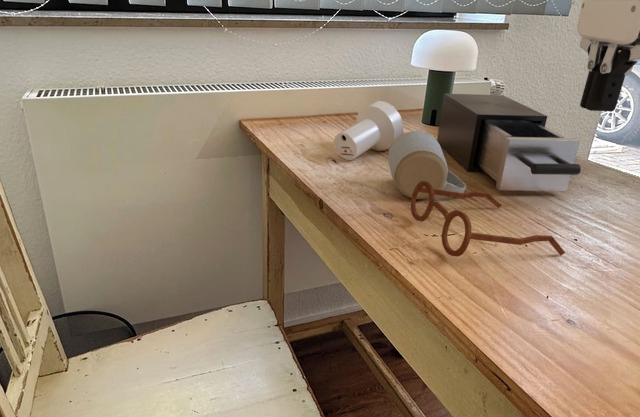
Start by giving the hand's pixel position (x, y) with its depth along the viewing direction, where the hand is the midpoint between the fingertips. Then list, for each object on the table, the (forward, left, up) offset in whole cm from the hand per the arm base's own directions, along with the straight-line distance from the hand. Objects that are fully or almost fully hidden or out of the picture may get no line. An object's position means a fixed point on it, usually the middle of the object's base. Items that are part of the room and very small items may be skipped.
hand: (596, 108), depth 55 cm
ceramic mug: (+15, -11, -15) cm, 23 cm away
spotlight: (+20, -28, -15) cm, 37 cm away
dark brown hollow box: (0, -27, -14) cm, 30 cm away
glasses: (+12, +2, -15) cm, 19 cm away
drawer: (0, -14, -13) cm, 19 cm away
